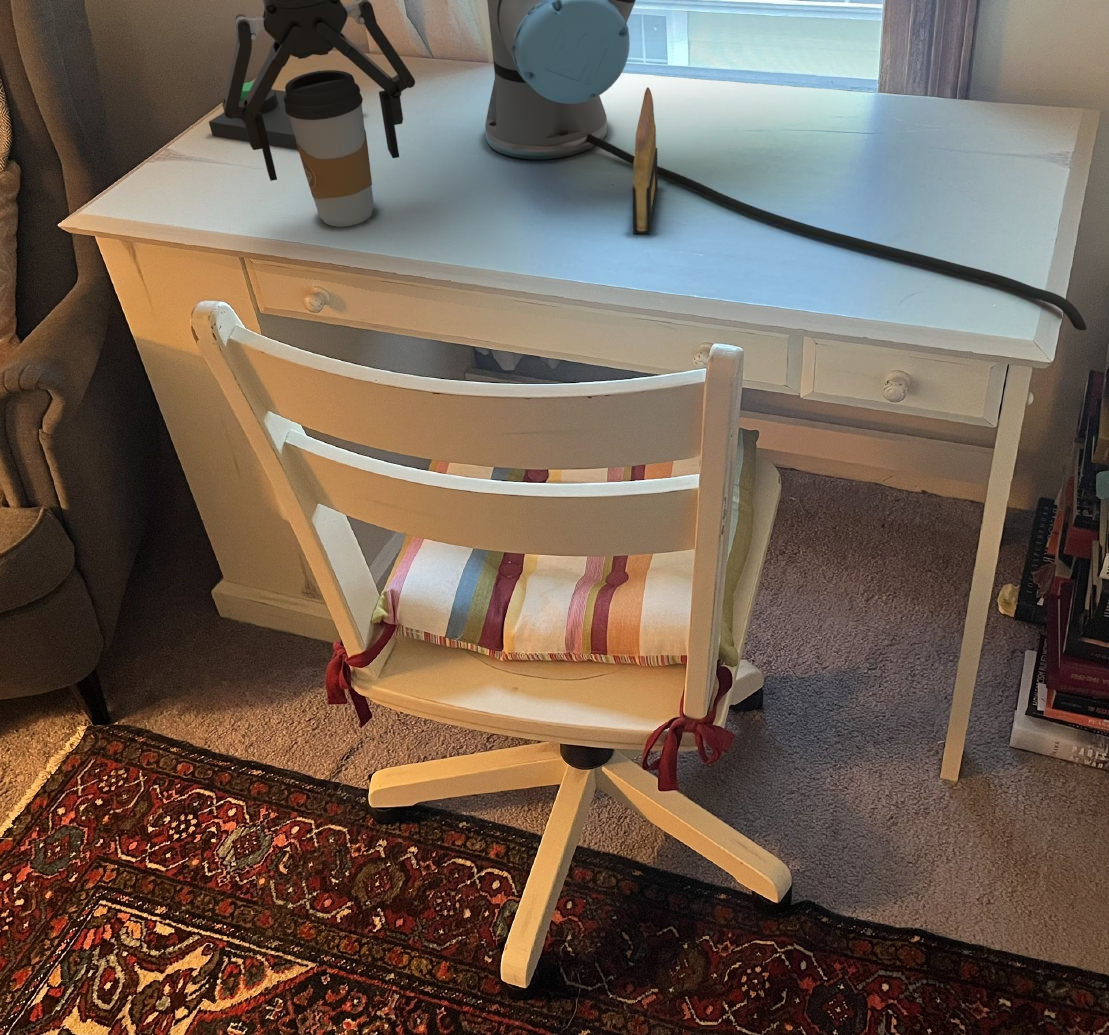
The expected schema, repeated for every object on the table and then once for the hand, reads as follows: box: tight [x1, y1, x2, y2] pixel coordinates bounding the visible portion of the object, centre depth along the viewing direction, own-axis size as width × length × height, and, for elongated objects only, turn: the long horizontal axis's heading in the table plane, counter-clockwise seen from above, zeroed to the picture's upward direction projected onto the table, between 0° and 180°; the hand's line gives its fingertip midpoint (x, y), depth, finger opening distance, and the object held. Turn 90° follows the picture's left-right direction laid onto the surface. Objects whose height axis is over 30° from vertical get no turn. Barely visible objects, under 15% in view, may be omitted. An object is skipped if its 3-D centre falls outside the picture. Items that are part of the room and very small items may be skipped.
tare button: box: [240, 81, 254, 101], centre depth 145 cm, size 3×3×2 cm
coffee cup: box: [284, 69, 375, 228], centre depth 120 cm, size 8×8×15 cm
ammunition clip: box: [631, 87, 659, 235], centre depth 116 cm, size 11×2×12 cm, turn 172°
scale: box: [208, 87, 298, 150], centre depth 144 cm, size 16×12×4 cm
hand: (333, 164), depth 121 cm, fingers open, 13 cm apart
